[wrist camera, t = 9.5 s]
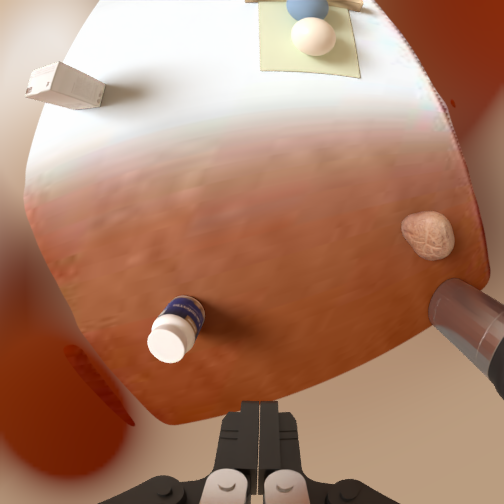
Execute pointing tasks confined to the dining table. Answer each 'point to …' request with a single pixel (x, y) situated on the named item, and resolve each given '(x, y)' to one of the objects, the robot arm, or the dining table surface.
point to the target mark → (291, 59)
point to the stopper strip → (330, 3)
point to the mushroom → (429, 234)
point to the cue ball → (313, 36)
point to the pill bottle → (176, 329)
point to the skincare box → (65, 87)
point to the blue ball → (307, 8)
